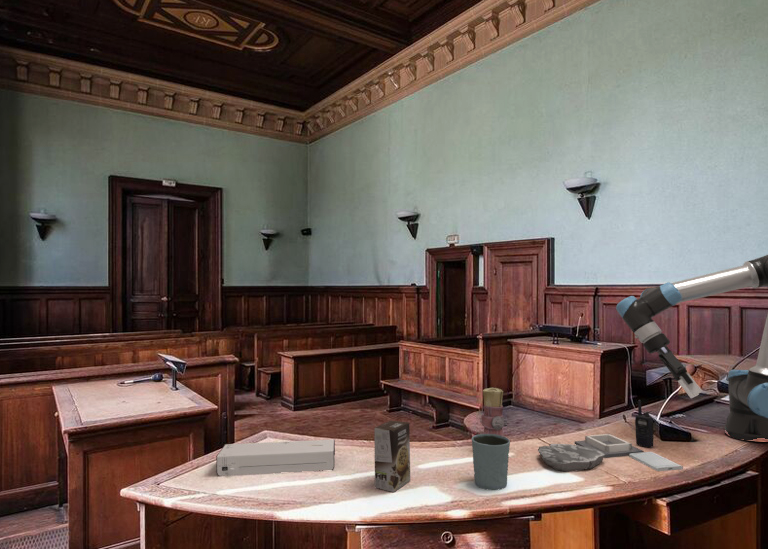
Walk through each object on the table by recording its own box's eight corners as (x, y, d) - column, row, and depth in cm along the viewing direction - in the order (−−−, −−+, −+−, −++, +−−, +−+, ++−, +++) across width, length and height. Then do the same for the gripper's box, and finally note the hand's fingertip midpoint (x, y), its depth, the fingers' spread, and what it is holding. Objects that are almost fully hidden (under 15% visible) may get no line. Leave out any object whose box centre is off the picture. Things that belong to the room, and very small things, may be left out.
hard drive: (628, 453, 151) (657, 467, 138) (652, 451, 152) (683, 465, 140) (629, 458, 151) (657, 473, 138) (652, 456, 152) (683, 471, 140)
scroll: (480, 455, 154) (479, 391, 155) (480, 447, 162) (478, 387, 162) (505, 456, 153) (503, 392, 154) (503, 448, 160) (502, 387, 161)
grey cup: (470, 476, 137) (469, 433, 137) (506, 476, 137) (505, 433, 137) (475, 491, 127) (474, 445, 127) (514, 491, 126) (513, 444, 127)
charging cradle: (614, 440, 166) (613, 431, 166) (643, 454, 153) (643, 444, 153) (574, 444, 163) (574, 435, 163) (601, 458, 150) (600, 448, 150)
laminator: (334, 458, 155) (334, 439, 155) (334, 473, 142) (334, 451, 143) (225, 464, 152) (225, 444, 152) (215, 479, 139) (215, 457, 139)
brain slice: (568, 449, 159) (568, 440, 159) (614, 465, 144) (613, 455, 144) (522, 459, 150) (522, 449, 151) (565, 478, 135) (565, 467, 135)
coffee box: (394, 493, 127) (393, 430, 127) (374, 488, 130) (373, 427, 131) (411, 481, 134) (410, 422, 135) (391, 476, 138) (390, 419, 138)
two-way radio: (634, 445, 161) (632, 399, 162) (639, 442, 164) (638, 397, 165) (651, 449, 157) (650, 402, 158) (657, 446, 160) (655, 400, 161)
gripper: (642, 349, 175) (683, 403, 165) (641, 337, 154) (687, 398, 144) (662, 338, 173) (704, 392, 163) (663, 325, 152) (712, 385, 142)
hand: (696, 395), depth 154 cm, fingers open, 13 cm apart
